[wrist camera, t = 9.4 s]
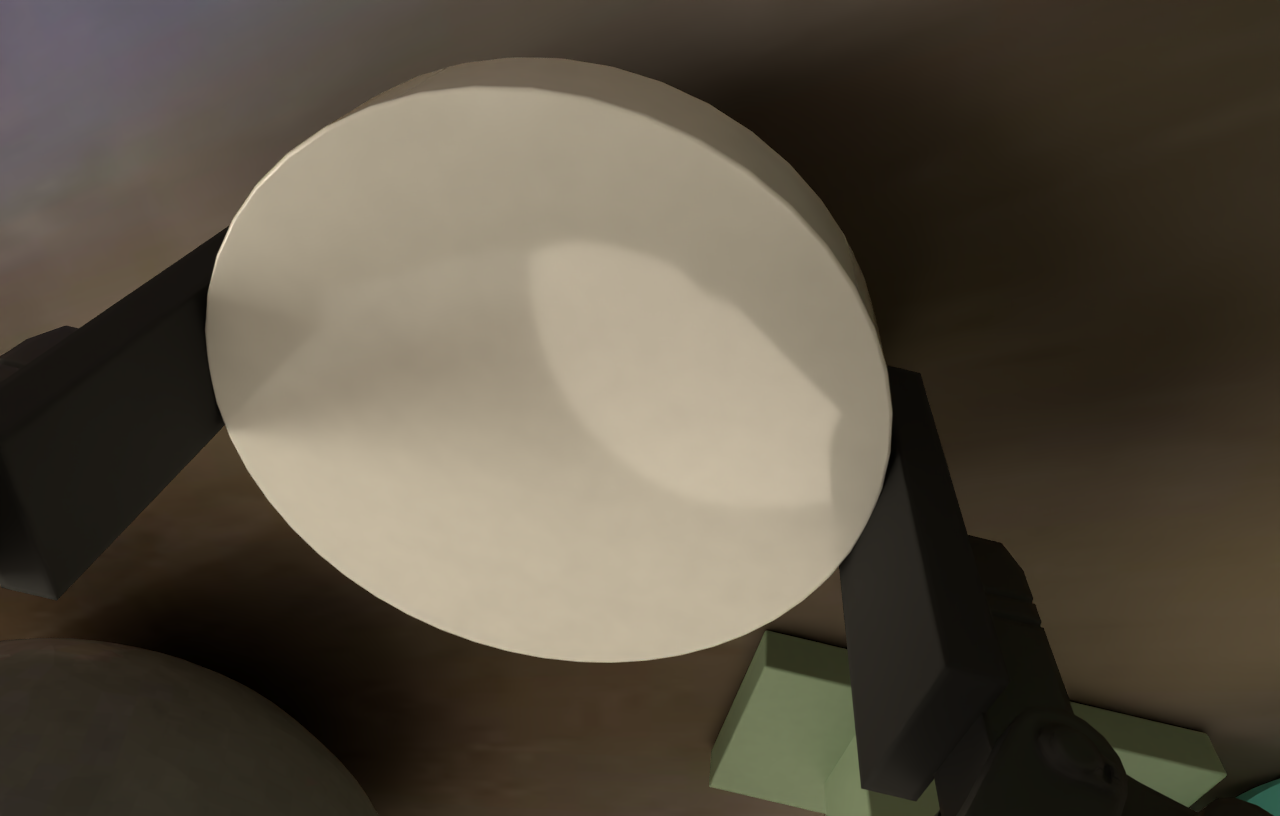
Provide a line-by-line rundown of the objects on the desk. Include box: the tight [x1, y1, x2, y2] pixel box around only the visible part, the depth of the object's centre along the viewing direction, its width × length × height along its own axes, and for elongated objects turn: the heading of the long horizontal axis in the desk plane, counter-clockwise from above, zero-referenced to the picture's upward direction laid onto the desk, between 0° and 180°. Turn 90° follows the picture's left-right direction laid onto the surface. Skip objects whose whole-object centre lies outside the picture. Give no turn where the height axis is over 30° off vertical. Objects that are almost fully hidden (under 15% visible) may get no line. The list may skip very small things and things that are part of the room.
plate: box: [205, 57, 893, 663], centre depth 13 cm, size 11×11×2 cm
